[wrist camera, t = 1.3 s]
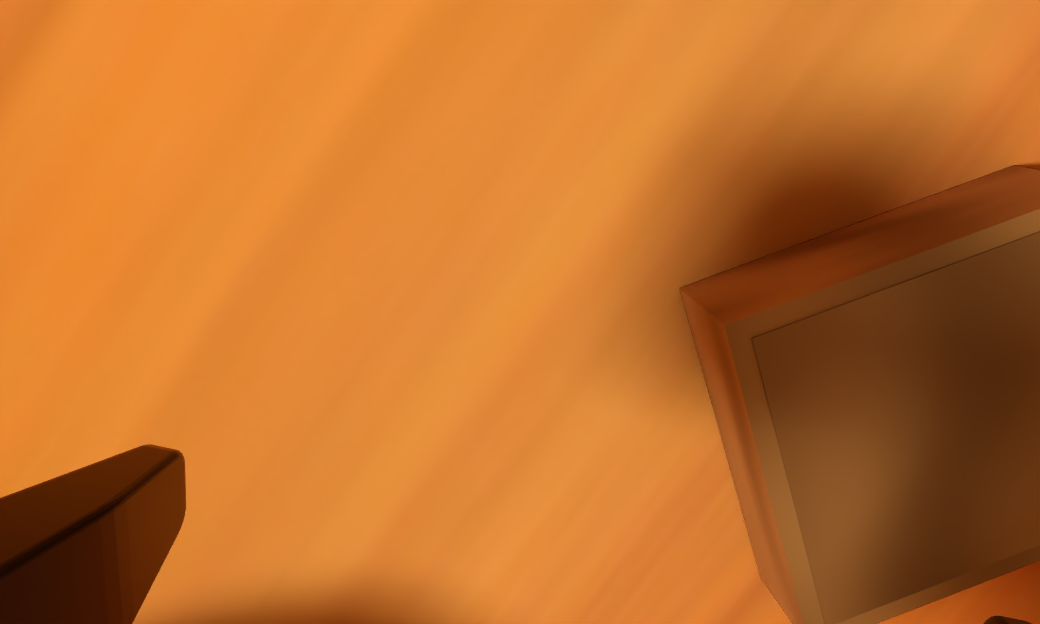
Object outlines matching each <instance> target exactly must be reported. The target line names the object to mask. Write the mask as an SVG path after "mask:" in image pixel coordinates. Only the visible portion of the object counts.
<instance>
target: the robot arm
mask: <svg viewBox="0 0 1040 624" xmlns="http://www.w3.org/2000/svg"><path fill="white" fill-rule="evenodd" d="M185 510H186V485H185V460H184V456H183V454H182V453H181V452H180V451H178V450H175V449H170V448H165V447H160V446H156V445H143V446H140V447H137V448H134V449H132V450H129V451H126V452H124V453H121V454H118V455H115V456H113V457H110V458H107V459H105V460H102V461H99V462H97V463H94V464H91V465H88V466H86V467H83V468H80V469H78V470H75V471H72V472H70V473H67V474H64V475H61V476H59V477H56V478H53V479H51V480H48V481H45V482H42V483H40V484H37V485H34V486H32V487H29V488H26V489H24V490H21V491H18V492H15V493H13V494H10V495H7V496H5V497H2V498H0V624H132V623H133V621H134V619H135V617H136V615H137V613H138V611H139V609H140V607H141V605H142V604H143V602H144V600H145V598H146V596H147V594H148V592H149V590H150V588H151V586H152V584H153V582H154V580H155V578H156V576H157V574H158V572H159V570H160V568H161V566H162V564H163V562H164V560H165V559H166V557H167V555H168V553H169V551H170V549H171V547H172V545H173V543H174V541H175V539H176V537H177V535H178V533H179V531H180V529H181V526H182V523H183V520H184V516H185ZM984 624H1031V623H1029V622H1027V621H1022V620H1017V619H1012V618H1007V617H1003V616H993V617H990V618H989V619H987V620H986V621H985V622H984Z"/></svg>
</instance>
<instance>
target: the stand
mask: <svg viewBox="0 0 1040 624" xmlns="http://www.w3.org/2000/svg"><path fill="white" fill-rule="evenodd" d="M679 289H680V292H681V296H682V299H683V303H684V306H685V310H686V314H687V317H688V321H689V324H690V328H691V331H692V335H693V339H694V342H695V346H696V349H697V353H698V356H699V360H700V363H701V367H702V371H703V374H704V378H705V381H706V385H707V388H708V392H709V395H710V399H711V403H712V406H713V410H714V413H715V417H716V420H717V424H718V428H719V431H720V435H721V438H722V442H723V445H724V449H725V452H726V456H727V460H728V463H729V467H730V470H731V474H732V477H733V481H734V484H735V488H736V492H737V495H738V499H739V502H740V506H741V509H742V513H743V517H744V520H745V524H746V527H747V531H748V534H749V538H750V541H751V545H752V549H753V552H754V556H755V559H756V563H757V566H758V570H759V573H760V577H761V580H762V581H763V582H764V584H765V585H766V587H767V588H768V589H769V591H770V592H771V594H772V595H773V597H774V598H775V599H776V601H777V602H778V604H779V605H780V607H781V608H782V609H783V611H784V612H785V614H786V615H787V616H788V618H789V619H790V621H791V622H792V624H877V623H880V622H882V621H885V620H888V619H890V618H893V617H895V616H898V615H900V614H903V613H906V612H908V611H911V610H913V609H916V608H919V607H921V606H924V605H926V604H929V603H931V602H934V601H937V600H939V599H942V598H944V597H947V596H950V595H952V594H955V593H957V592H960V591H962V590H965V589H968V588H970V587H973V586H975V585H978V584H981V583H983V582H986V581H988V580H991V579H993V578H996V577H999V576H1001V575H1004V574H1006V573H1009V572H1012V571H1014V570H1017V569H1019V568H1022V567H1024V566H1027V565H1030V564H1032V563H1035V562H1037V561H1040V170H1036V169H1031V168H1026V167H1021V166H1016V165H1014V166H1011V167H1008V168H1006V169H1003V170H1000V171H997V172H995V173H992V174H989V175H986V176H984V177H981V178H978V179H976V180H973V181H970V182H967V183H965V184H962V185H959V186H957V187H954V188H951V189H948V190H946V191H943V192H940V193H937V194H935V195H932V196H929V197H927V198H924V199H921V200H918V201H916V202H913V203H910V204H907V205H905V206H902V207H899V208H897V209H894V210H891V211H888V212H886V213H883V214H880V215H877V216H875V217H872V218H869V219H867V220H864V221H861V222H858V223H856V224H853V225H850V226H847V227H845V228H842V229H839V230H837V231H834V232H831V233H828V234H826V235H823V236H820V237H818V238H815V239H812V240H809V241H807V242H804V243H801V244H798V245H796V246H793V247H790V248H788V249H785V250H782V251H779V252H777V253H774V254H771V255H768V256H766V257H763V258H760V259H758V260H755V261H752V262H749V263H747V264H744V265H741V266H738V267H736V268H733V269H730V270H728V271H725V272H722V273H719V274H717V275H714V276H711V277H708V278H706V279H703V280H700V281H698V282H695V283H692V284H689V285H687V286H684V287H681V288H679Z"/></svg>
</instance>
